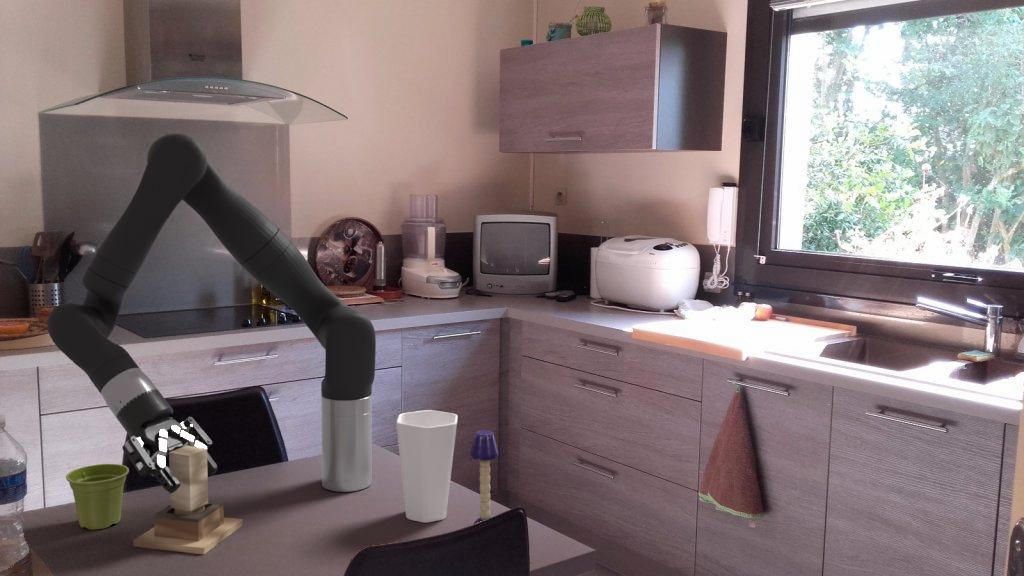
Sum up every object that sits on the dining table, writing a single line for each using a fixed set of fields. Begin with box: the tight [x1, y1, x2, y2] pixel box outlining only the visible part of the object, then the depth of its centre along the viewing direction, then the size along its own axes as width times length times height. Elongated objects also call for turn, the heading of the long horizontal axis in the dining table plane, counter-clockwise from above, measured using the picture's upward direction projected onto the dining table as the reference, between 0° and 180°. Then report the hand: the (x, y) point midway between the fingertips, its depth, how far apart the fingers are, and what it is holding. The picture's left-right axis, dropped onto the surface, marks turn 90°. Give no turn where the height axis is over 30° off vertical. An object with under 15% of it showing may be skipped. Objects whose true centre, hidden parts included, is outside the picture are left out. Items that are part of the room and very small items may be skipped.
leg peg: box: [168, 446, 209, 516], centre depth 143 cm, size 4×4×13 cm
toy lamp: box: [469, 429, 499, 524], centre depth 148 cm, size 5×5×17 cm
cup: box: [395, 409, 458, 523], centre depth 154 cm, size 11×10×17 cm
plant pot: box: [65, 463, 130, 530], centre depth 148 cm, size 9×9×9 cm
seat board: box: [132, 500, 244, 555], centre depth 144 cm, size 12×12×4 cm
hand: (195, 481), depth 143 cm, fingers open, 8 cm apart
